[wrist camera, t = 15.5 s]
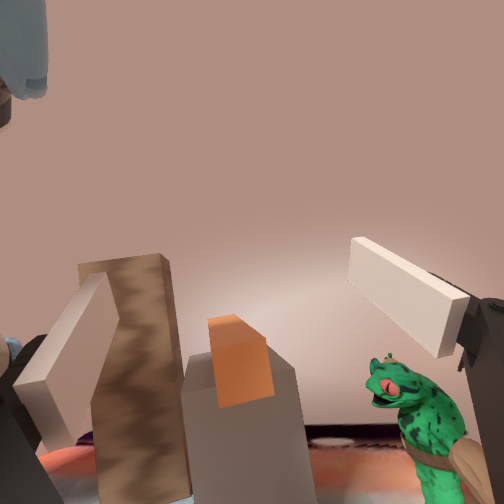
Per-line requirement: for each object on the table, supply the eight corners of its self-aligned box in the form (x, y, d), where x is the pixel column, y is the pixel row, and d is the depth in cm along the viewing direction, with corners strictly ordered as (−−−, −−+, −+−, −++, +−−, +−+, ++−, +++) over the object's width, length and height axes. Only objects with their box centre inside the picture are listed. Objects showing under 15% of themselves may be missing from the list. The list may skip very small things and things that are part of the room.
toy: (367, 454, 36) (344, 336, 38) (420, 452, 35) (394, 331, 37) (501, 873, 11) (415, 463, 12) (712, 916, 10) (585, 457, 11)
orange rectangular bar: (219, 408, 19) (210, 349, 20) (211, 346, 41) (207, 319, 41) (274, 394, 20) (265, 338, 20) (238, 341, 41) (234, 314, 42)
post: (101, 522, 32) (77, 264, 35) (125, 468, 42) (105, 269, 45) (190, 496, 34) (159, 253, 37) (193, 450, 43) (169, 261, 47)
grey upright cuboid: (207, 611, 21) (180, 394, 23) (206, 486, 35) (189, 356, 37) (328, 566, 23) (294, 368, 25) (282, 464, 37) (262, 341, 39)
